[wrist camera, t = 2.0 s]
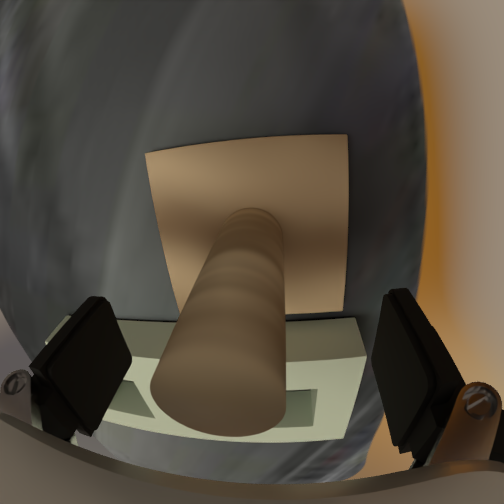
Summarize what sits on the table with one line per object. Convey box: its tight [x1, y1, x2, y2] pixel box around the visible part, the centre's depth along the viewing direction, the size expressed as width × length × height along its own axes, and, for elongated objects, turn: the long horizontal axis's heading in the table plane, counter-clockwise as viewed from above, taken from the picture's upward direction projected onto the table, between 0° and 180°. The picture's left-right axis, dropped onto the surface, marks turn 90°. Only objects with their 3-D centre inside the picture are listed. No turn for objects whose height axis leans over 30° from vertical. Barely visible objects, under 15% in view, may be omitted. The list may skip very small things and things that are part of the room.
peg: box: [150, 208, 286, 437], centre depth 10 cm, size 3×3×10 cm
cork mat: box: [145, 134, 349, 314], centre depth 15 cm, size 10×10×1 cm
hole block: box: [45, 316, 367, 442], centre depth 19 cm, size 10×22×4 cm, turn 95°
